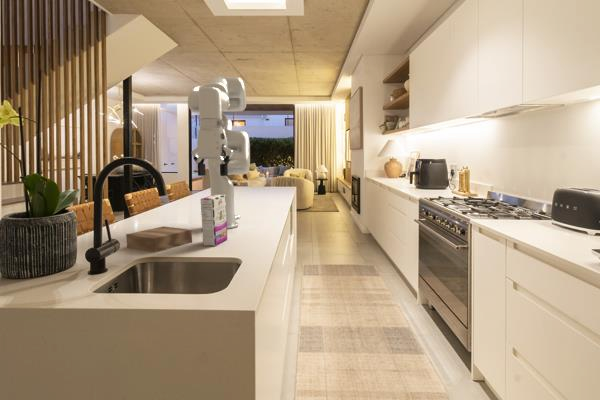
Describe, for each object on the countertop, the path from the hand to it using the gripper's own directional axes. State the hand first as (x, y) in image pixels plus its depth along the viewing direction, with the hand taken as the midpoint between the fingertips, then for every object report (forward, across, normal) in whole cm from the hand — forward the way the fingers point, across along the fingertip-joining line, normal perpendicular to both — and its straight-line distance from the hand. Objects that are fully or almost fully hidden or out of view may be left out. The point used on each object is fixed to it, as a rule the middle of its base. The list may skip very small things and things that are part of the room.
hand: (212, 175), depth 142 cm
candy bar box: (+24, 0, -1) cm, 24 cm away
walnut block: (+24, +15, +10) cm, 30 cm away
